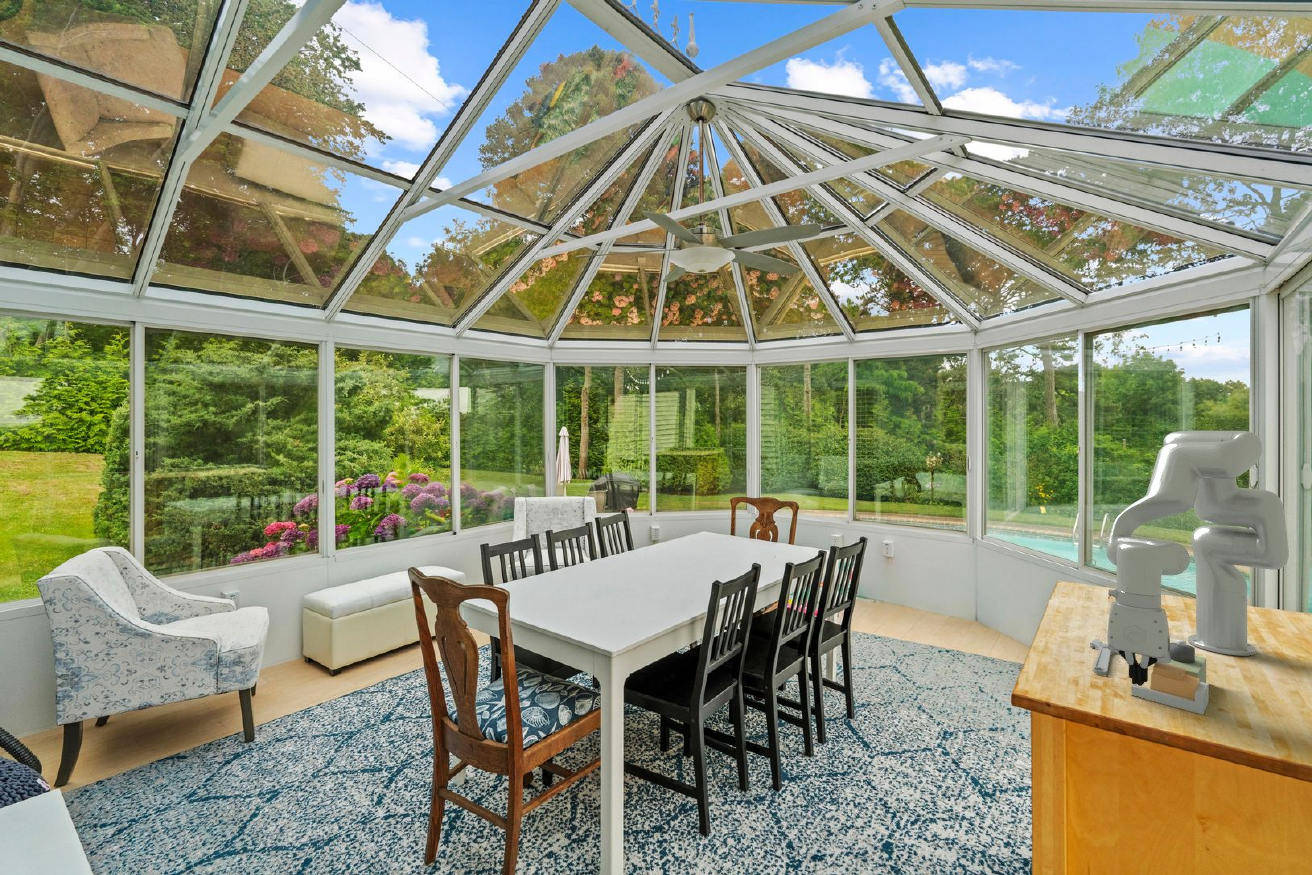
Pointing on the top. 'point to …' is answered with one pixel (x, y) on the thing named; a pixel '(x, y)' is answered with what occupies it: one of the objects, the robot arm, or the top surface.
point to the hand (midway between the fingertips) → (1138, 683)
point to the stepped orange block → (1173, 681)
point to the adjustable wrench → (1101, 657)
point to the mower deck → (1194, 667)
